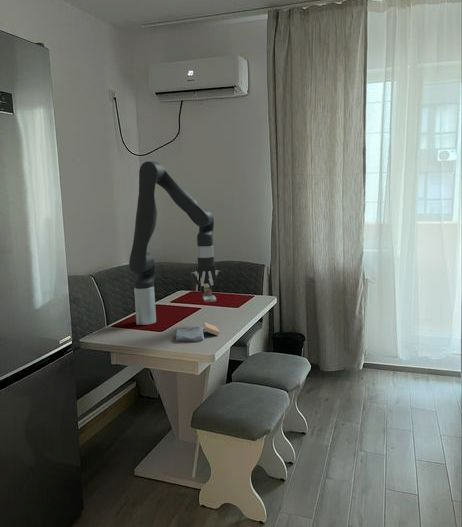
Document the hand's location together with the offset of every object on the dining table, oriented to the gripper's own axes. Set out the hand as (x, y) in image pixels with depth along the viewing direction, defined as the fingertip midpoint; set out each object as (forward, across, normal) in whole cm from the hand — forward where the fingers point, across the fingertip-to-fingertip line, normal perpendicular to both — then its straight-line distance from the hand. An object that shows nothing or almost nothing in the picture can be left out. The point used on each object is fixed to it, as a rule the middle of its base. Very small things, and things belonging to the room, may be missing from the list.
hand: (207, 293), depth 205 cm
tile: (+13, -1, -9) cm, 16 cm away
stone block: (+15, -10, -17) cm, 25 cm away
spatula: (+1, 0, -2) cm, 2 cm away
